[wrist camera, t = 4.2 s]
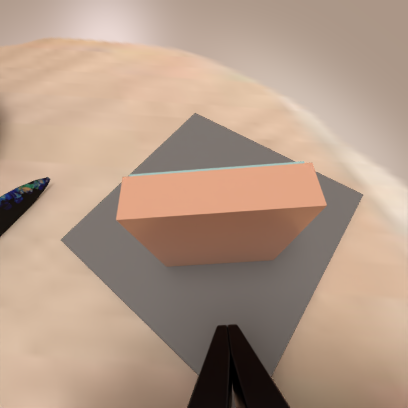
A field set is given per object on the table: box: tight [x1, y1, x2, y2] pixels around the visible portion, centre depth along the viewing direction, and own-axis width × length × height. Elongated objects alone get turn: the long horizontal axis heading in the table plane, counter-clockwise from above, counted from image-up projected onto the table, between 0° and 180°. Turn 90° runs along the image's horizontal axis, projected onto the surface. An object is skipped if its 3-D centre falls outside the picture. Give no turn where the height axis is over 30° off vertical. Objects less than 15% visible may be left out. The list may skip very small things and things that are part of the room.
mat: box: [61, 113, 363, 408], centre depth 18 cm, size 18×18×1 cm
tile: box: [116, 161, 327, 267], centre depth 13 cm, size 2×8×9 cm, turn 93°
